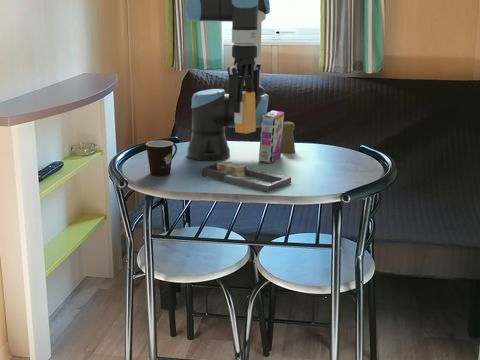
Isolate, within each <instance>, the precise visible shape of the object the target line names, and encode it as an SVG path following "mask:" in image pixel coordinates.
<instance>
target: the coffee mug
mask: <svg viewBox="0 0 480 360" xmlns="http://www.w3.org/2000/svg"><path fill="white" fill-rule="evenodd" d="M145 146H146V153H147V159H148V165H149V166H148V167H149V173H150V175H151V176H152V177H167V176H170V175H171V170H172V160H173V158H174V157H175V156H176V154H177V151H178V146H177V144H176V143H174V142H172V141H170V140H151V141H147V142H146V143H145ZM174 148H175V150H174V151H173V149H174Z"/></svg>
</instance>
